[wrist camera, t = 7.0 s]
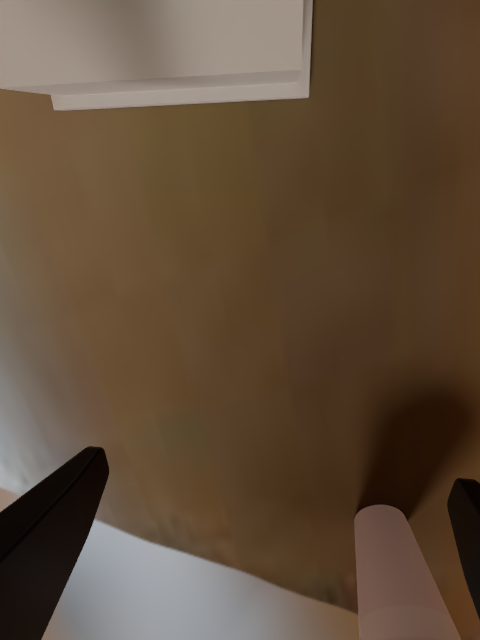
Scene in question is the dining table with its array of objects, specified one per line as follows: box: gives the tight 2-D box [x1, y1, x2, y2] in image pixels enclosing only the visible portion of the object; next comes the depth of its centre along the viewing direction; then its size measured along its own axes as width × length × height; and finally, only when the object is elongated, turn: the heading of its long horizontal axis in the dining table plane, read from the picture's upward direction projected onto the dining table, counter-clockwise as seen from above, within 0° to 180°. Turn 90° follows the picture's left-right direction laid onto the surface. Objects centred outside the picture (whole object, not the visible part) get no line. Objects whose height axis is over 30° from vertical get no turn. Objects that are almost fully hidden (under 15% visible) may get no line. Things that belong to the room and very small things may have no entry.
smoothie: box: [354, 505, 461, 640], centre depth 22 cm, size 6×6×14 cm
